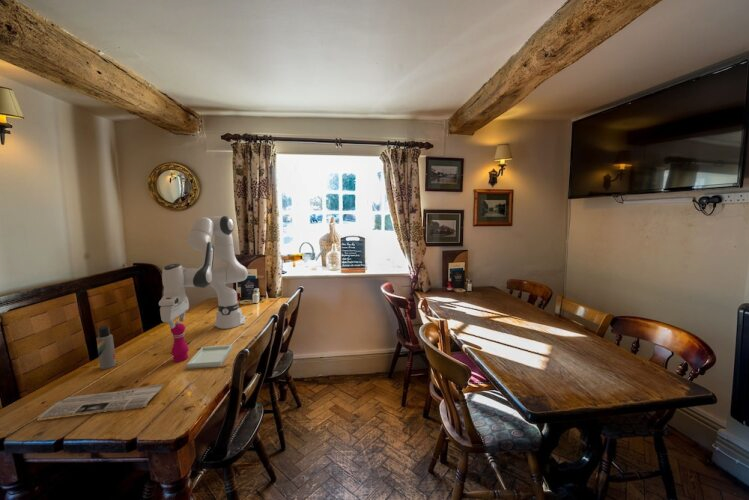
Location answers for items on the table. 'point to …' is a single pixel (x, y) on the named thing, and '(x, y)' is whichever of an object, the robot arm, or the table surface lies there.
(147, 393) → the newspaper
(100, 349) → the lotion bottle
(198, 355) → the tray
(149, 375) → the table surface
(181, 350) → the pepper mill
